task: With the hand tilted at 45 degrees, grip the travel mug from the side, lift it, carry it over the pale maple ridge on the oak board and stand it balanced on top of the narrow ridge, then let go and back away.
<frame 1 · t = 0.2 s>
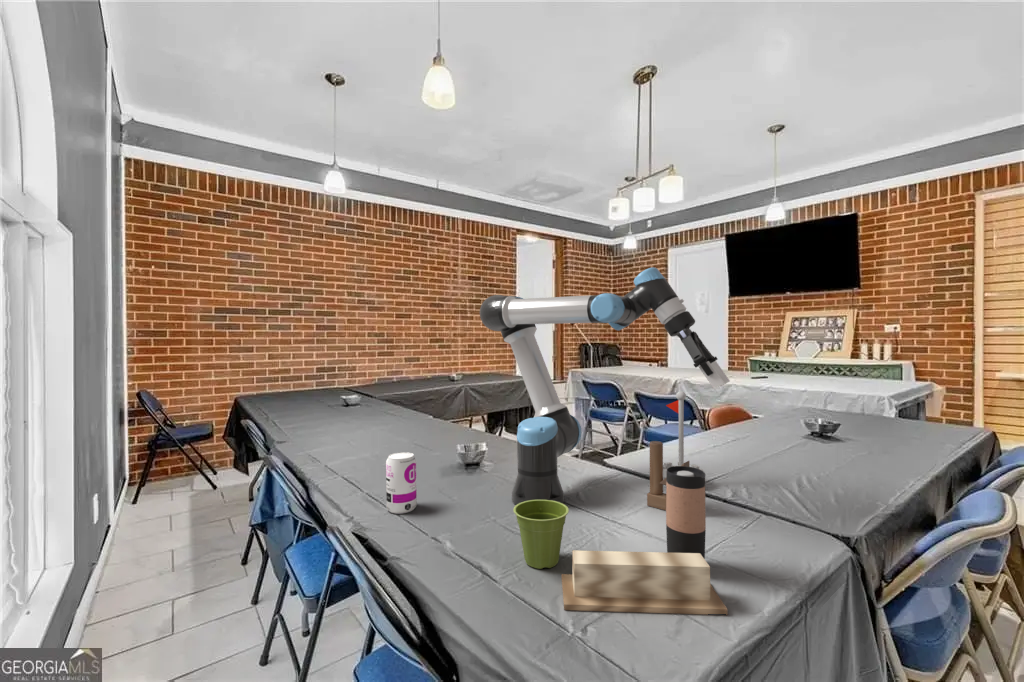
hand: (722, 385, 116), 35 cm above the table, tool tilted 35°, fingers open, 13 cm apart
flag stand: (681, 484, 144), on the table
travel mug: (685, 567, 93), on the table
ridge: (638, 595, 83), on the table
supplement can: (401, 509, 126), on the table
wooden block: (668, 509, 124), on the table
plant pot: (541, 561, 96), on the table
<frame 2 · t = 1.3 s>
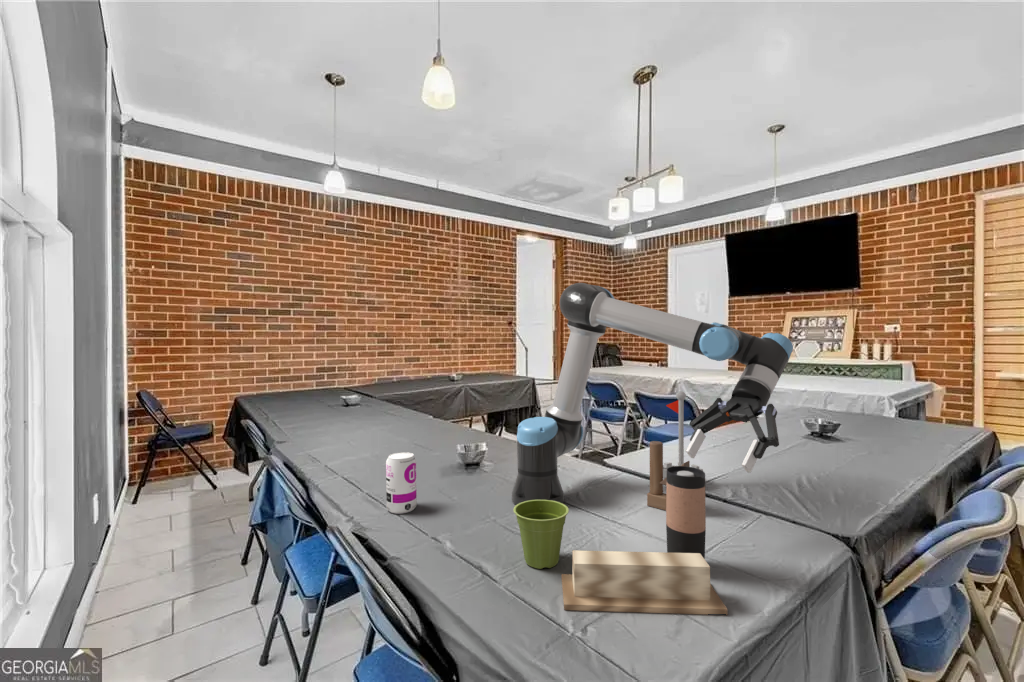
hand: (716, 461, 99), 20 cm above the table, tool tilted 45°, fingers open, 13 cm apart
nothing on the table moved.
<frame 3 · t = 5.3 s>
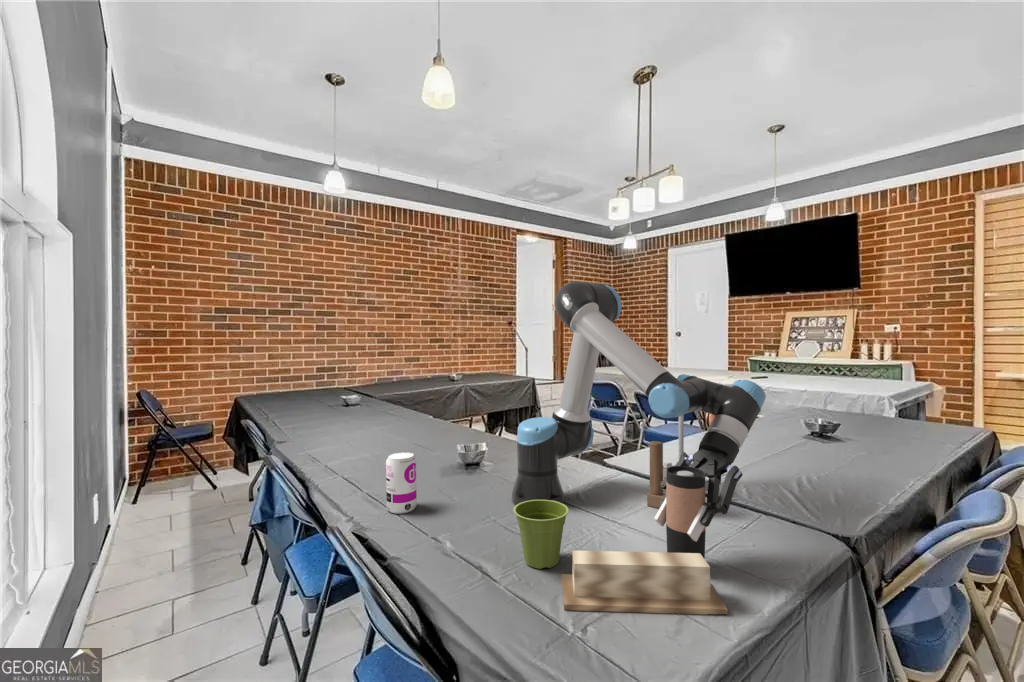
hand: (674, 529, 92), 9 cm above the table, tool tilted 45°, fingers closed on travel mug, 7 cm apart
travel mug: (685, 567, 93), on the table, touching gripper
everything else where it was.
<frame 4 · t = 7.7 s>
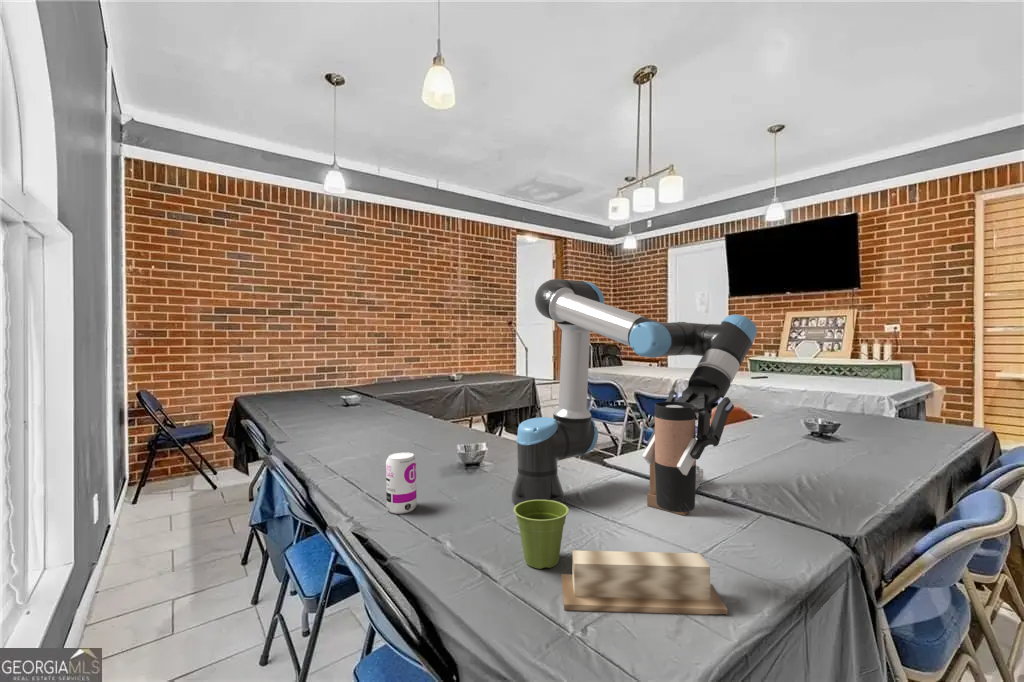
hand: (663, 465, 87), 23 cm above the table, tool tilted 45°, fingers closed on travel mug, 7 cm apart
travel mug: (675, 506, 89), point 14 cm above the table, touching gripper
everything else where it was.
when the fingers open (17 cm above the table, at t = 10.4 s): travel mug drops 1 cm, resting on ridge.
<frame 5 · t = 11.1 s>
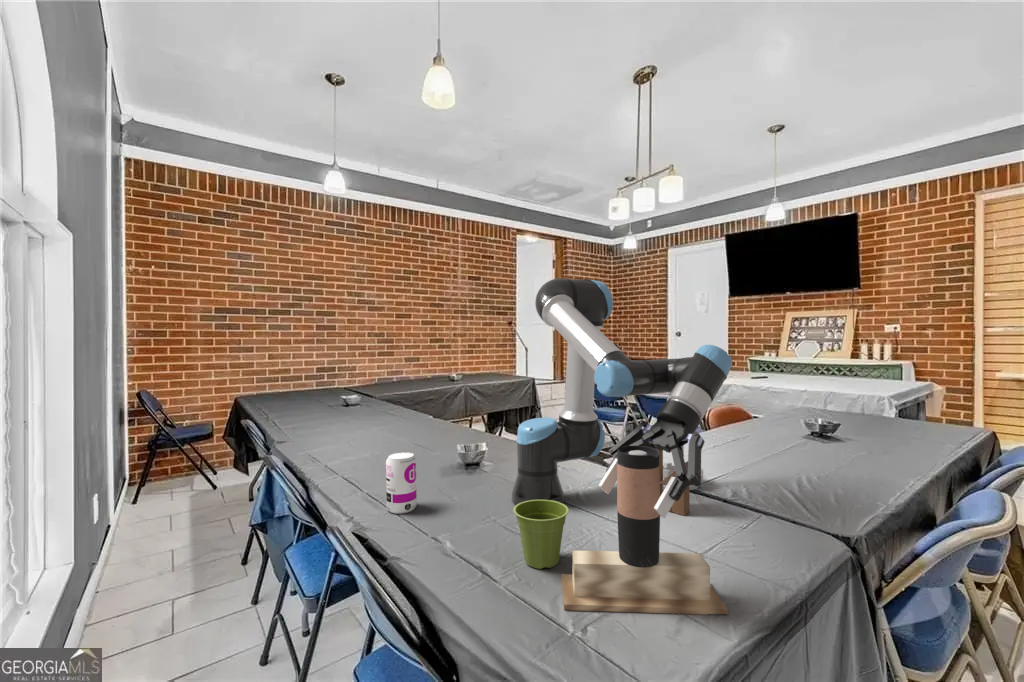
hand: (629, 500, 82), 18 cm above the table, tool tilted 45°, fingers open, 13 cm apart
travel mug: (638, 559, 83), point 7 cm above the table, touching ridge
everything else where it was.
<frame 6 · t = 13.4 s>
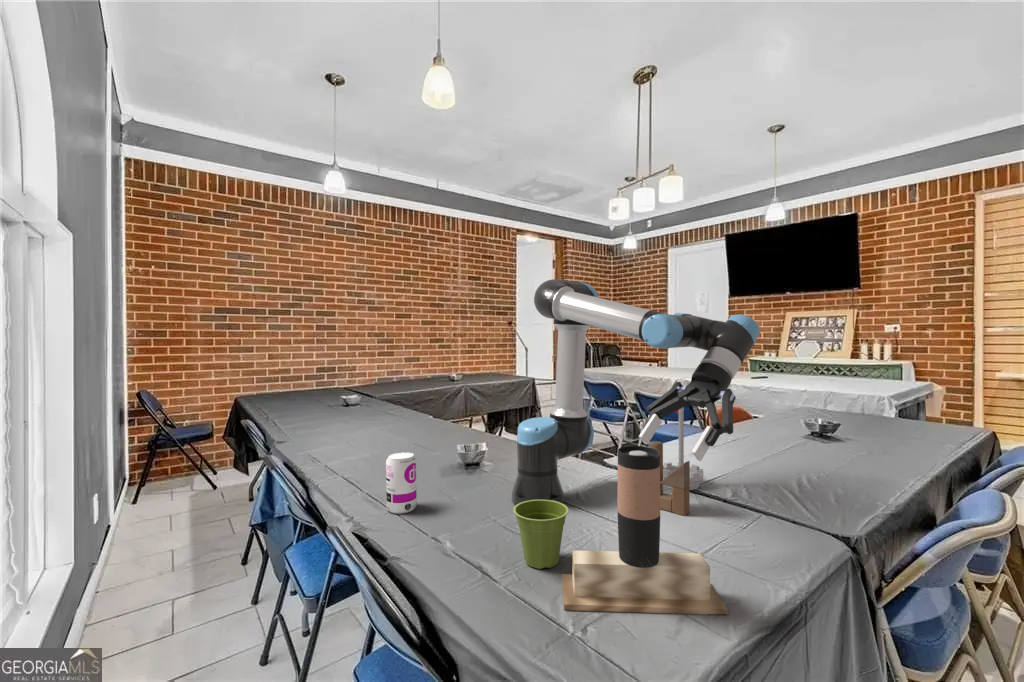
hand: (667, 448, 93), 25 cm above the table, tool tilted 45°, fingers open, 13 cm apart
nothing on the table moved.
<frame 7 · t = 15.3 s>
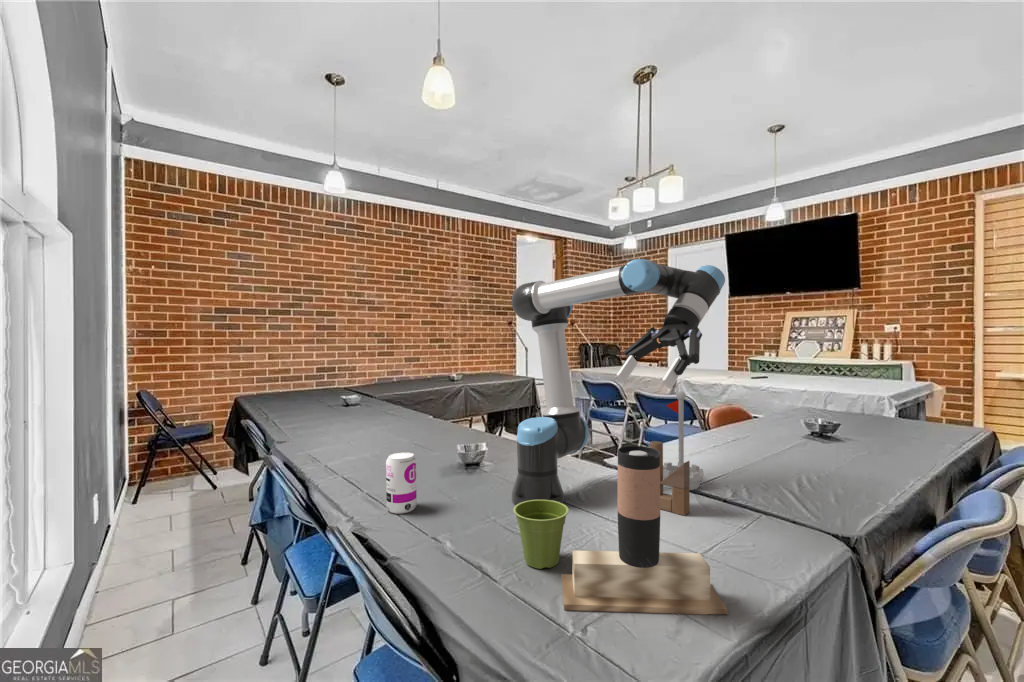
hand: (642, 381, 102), 38 cm above the table, tool tilted 45°, fingers open, 13 cm apart
nothing on the table moved.
at the end: travel mug inside the target area on the ridge (0.1 cm from its centre), point 6.8 cm above the ridge's base; travel mug tilted 0°; travel mug touching ridge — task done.
